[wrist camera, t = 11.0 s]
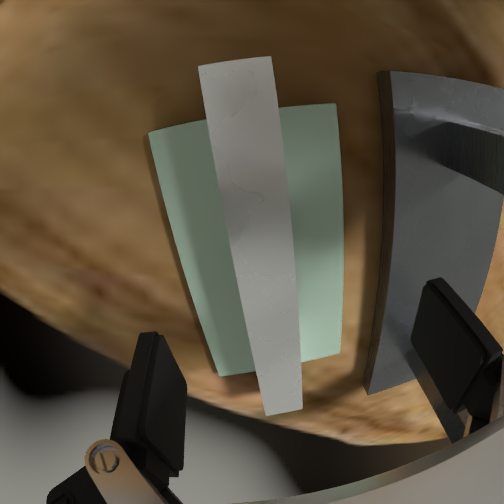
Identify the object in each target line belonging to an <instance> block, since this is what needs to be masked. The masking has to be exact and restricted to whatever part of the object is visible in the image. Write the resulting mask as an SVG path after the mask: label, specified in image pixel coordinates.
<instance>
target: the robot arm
mask: <svg viewBox="0 0 504 504" xmlns="http://www.w3.org/2000/svg"><path fill="white" fill-rule="evenodd" d="M411 343H412V346H413V347H414V349H415V351H416V352H417V354H418V356H419V357H420V359H421V361H422V362H423V364H424V366H425V368H426V369H427V371H428V373H429V374H430V376H431V378H432V380H433V382H434V383H435V385H436V387H437V389H438V391H439V392H440V394H441V396H442V398H443V400H444V402H445V404H446V405H447V407H448V408H449V409H452V410H453V412H454V414H457V413H459V412H461V411H463V410H465V409H467V411H468V413H469V415H468V419H467V424H466V428H465V432H464V436H463V438H462V439H461V440H459V441H457V442H455V443H453V444H451V445H449V446H447V447H445V448H443V449H441V450H439V451H437V452H434V453H432V454H430V455H428V456H426V457H423V458H421V459H419V460H416V461H414V462H411V463H409V464H407V465H404V466H401V467H399V468H396V469H393V470H391V471H388V472H385V473H382V474H380V475H377V476H374V477H370V478H367V479H364V480H361V481H357V482H354V483H350V484H347V485H343V486H339V487H335V488H331V489H327V490H323V491H318V492H314V493H309V494H304V495H298V496H294V497H287V498H280V499H273V500H266V501H257V502H247V503H235V504H504V355H503V354H502V351H503V349H502V347H501V346H500V345H499V344H498V342H497V341H496V340H495V338H494V337H493V336H492V335H491V333H490V332H489V331H488V330H487V328H486V327H485V326H484V325H483V323H482V322H481V321H480V320H479V318H478V317H477V316H476V315H475V314H474V313H473V311H472V310H471V309H470V308H469V307H468V305H467V304H466V303H465V302H464V301H463V300H462V299H461V297H460V296H459V295H458V294H457V293H456V292H455V291H454V290H453V289H452V287H451V286H450V285H449V284H448V283H447V282H446V281H445V280H444V279H443V278H442V277H439V278H435V279H431V280H428V281H427V282H426V285H424V286H423V289H422V293H421V298H420V302H419V306H418V310H417V314H416V318H415V322H414V326H413V330H412V333H411ZM186 401H187V384H186V381H185V379H184V377H183V375H182V373H181V371H180V369H179V367H178V365H177V363H176V361H175V359H174V357H173V355H172V353H171V350H170V348H169V346H168V344H167V342H166V340H165V338H164V336H163V335H159V334H158V333H157V332H156V331H155V332H145V333H140V335H139V337H138V341H137V345H136V349H135V353H134V357H133V361H132V365H131V369H130V370H129V371H127V372H126V373H125V375H124V377H123V381H122V385H121V390H120V394H119V398H118V403H117V407H116V412H115V417H114V421H113V426H112V431H111V436H110V440H108V439H103V440H99V441H96V442H95V443H93V444H92V445H91V446H90V447H89V449H88V450H87V451H86V455H85V466H84V467H83V468H81V469H80V470H79V471H78V472H76V473H74V474H73V475H72V476H70V477H69V478H67V479H66V480H65V481H63V482H62V483H60V484H59V485H57V486H56V487H54V488H53V489H52V490H51V491H50V492H49V494H48V496H47V501H46V503H47V504H183V503H182V502H181V501H180V500H179V498H178V497H177V496H176V495H175V494H174V493H173V492H172V491H171V490H170V489H169V487H168V485H169V477H178V476H179V471H180V470H183V465H184V439H185V418H186Z"/></svg>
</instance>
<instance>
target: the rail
mask: <svg viewBox="0 0 504 504" xmlns="http://www.w3.org/2000/svg"><path fill="white" fill-rule="evenodd" d="M198 71H199V77H200V83H201V89H202V95H203V101H204V107H205V112H206V118H207V124H208V130H209V135H210V141H211V147H212V152H213V158H214V163H215V169H216V174H217V180H218V185H219V191H220V196H221V201H222V207H223V212H224V217H225V222H226V228H227V233H228V238H229V243H230V248H231V253H232V258H233V263H234V268H235V273H236V278H237V283H238V288H239V293H240V298H241V303H242V308H243V313H244V317H245V322H246V327H247V332H248V336H249V341H250V346H251V351H252V355H253V360H254V364H255V369H256V374H257V378H258V383H259V387H260V392H261V396H262V401H263V405H264V410H265V414H266V416H269V415H275V414H280V413H286V412H291V411H296V410H301V409H303V402H302V373H301V351H300V331H299V314H298V299H297V284H296V271H295V258H294V246H293V234H292V223H291V213H290V203H289V193H288V183H287V174H286V165H285V156H284V148H283V139H282V131H281V123H280V116H279V108H278V101H277V93H276V86H275V79H274V73H273V66H272V59H271V56H266V57H255V58H247V59H239V60H231V61H225V62H218V63H212V64H206V65H201V66H198Z"/></svg>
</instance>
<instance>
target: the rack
mask: <svg viewBox="0 0 504 504" xmlns="http://www.w3.org/2000/svg"><path fill="white" fill-rule="evenodd" d="M377 76H378V85H379V95H380V106H381V119H382V136H383V165H384V200H383V230H382V247H381V261H380V273H379V283H378V292H377V301H376V309H375V316H374V324H373V330H372V337H371V343H370V349H369V355H368V360H367V365H366V371H365V376H364V381H363V386H364V389H365V391H366V393H367V395H370V394H374V393H377V392H380V391H383V390H386V389H389V388H392V387H394V386H397V385H400V384H403V383H405V382H408V381H411V380H413V379H417V380H418V382H419V384H420V386H421V387H422V389H423V391H424V393H425V395H426V396H427V398H428V400H429V402H430V404H431V405H432V407H433V409H434V411H435V413H436V415H437V417H438V418H439V420H440V422H441V424H442V426H443V428H444V430H445V432H446V434H447V436H448V438H449V439H450V442H451V444H453V443H455V442H457V441H459V440H461V439H462V438H463V436H464V432H465V428H466V424H467V419H468V415H469V413H468V411H467V409H465V410H463V411H461V412H459V413H457V414H454V412H453V410H452V409H449V408H448V407H447V405H446V404H445V402H444V400H443V398H442V396H441V394H440V392H439V391H438V389H437V387H436V385H435V383H434V382H433V380H432V378H431V376H430V374H429V373H428V371H427V369H426V368H425V366H424V364H423V362H422V361H421V359H420V357H419V356H418V354H417V352H416V351H415V349H414V347H413V346H412V343H411V333H412V330H413V326H414V322H415V318H416V314H417V310H418V306H419V302H420V298H421V293H422V289H423V286H424V285H426V282H427V281H428V280H431V279H435V278H439V277H442V278H443V279H444V280H445V281H446V282H447V283H448V284H449V285H450V286H451V287H452V289H453V290H454V291H455V292H456V293H457V294H458V295H459V296H460V297H461V299H462V300H463V301H464V302H465V303H466V304H467V305H468V307H469V308H470V309H471V310H472V311H473V313H474V314H475V312H476V309H477V306H478V303H479V300H480V297H481V294H482V291H483V287H484V284H485V281H486V277H487V274H488V270H489V267H490V263H491V259H492V255H493V251H494V246H495V242H496V237H497V233H498V228H499V222H500V217H501V211H502V204H503V198H504V89H502V88H498V87H494V86H490V85H485V84H481V83H476V82H471V81H466V80H461V79H455V78H449V77H443V76H436V75H429V74H420V73H411V72H400V71H382V72H377Z"/></svg>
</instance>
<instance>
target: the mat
mask: <svg viewBox="0 0 504 504" xmlns="http://www.w3.org/2000/svg"><path fill="white" fill-rule="evenodd" d="M279 116H280V123H281V131H282V139H283V148H284V156H285V165H286V174H287V183H288V193H289V203H290V213H291V223H292V234H293V246H294V258H295V271H296V284H297V299H298V314H299V331H300V351H301V362H305V361H309V360H314V359H318V358H323V357H327V356H331V355H335V354H339V353H340V343H341V328H342V308H343V277H344V219H343V189H342V169H341V154H340V140H339V129H338V118H337V108H336V103H327V104H312V105H300V106H290V107H280V108H279ZM148 136H149V140H150V145H151V149H152V154H153V158H154V162H155V167H156V171H157V175H158V179H159V183H160V187H161V191H162V195H163V199H164V203H165V207H166V210H167V214H168V218H169V222H170V225H171V229H172V232H173V236H174V240H175V243H176V247H177V250H178V253H179V257H180V260H181V264H182V267H183V270H184V273H185V277H186V280H187V283H188V286H189V290H190V293H191V296H192V299H193V302H194V305H195V308H196V311H197V314H198V317H199V320H200V323H201V326H202V329H203V332H204V335H205V338H206V341H207V343H208V346H209V349H210V352H211V355H212V357H213V360H214V363H215V366H216V368H217V371H218V374H219V376H228V375H234V374H241V373H247V372H253V371H256V369H255V364H254V360H253V355H252V351H251V346H250V341H249V336H248V332H247V327H246V322H245V317H244V313H243V308H242V303H241V298H240V293H239V288H238V283H237V278H236V273H235V268H234V263H233V258H232V253H231V248H230V243H229V238H228V233H227V228H226V222H225V217H224V212H223V207H222V201H221V196H220V191H219V185H218V180H217V174H216V169H215V163H214V158H213V152H212V147H211V141H210V135H209V130H208V124H207V119H203V120H198V121H193V122H189V123H184V124H180V125H175V126H171V127H167V128H163V129H159V130H155V131H151V132H148Z"/></svg>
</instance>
